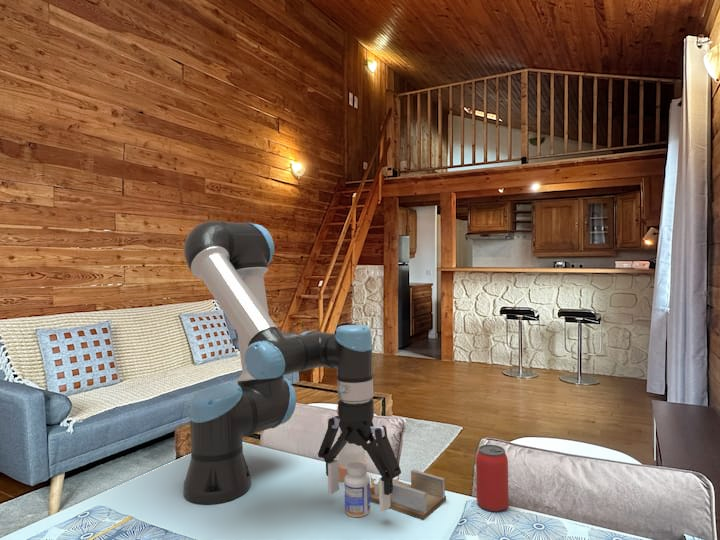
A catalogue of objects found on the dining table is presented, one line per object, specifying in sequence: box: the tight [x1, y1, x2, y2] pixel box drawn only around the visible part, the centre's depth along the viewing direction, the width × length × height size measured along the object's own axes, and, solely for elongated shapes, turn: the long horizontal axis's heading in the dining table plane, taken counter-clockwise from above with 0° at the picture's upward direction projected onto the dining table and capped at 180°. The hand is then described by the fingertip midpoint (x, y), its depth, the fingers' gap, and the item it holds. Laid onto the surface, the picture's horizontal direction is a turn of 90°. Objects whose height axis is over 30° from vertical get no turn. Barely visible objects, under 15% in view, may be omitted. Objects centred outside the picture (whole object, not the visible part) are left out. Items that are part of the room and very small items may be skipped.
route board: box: [370, 480, 447, 521], centre depth 106 cm, size 16×10×1 cm, turn 53°
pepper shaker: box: [336, 406, 368, 483], centre depth 117 cm, size 7×7×19 cm
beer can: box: [475, 444, 510, 512], centre depth 102 cm, size 7×7×12 cm
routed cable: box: [370, 475, 400, 495], centre depth 108 cm, size 8×7×2 cm
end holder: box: [391, 469, 446, 514], centre depth 103 cm, size 8×9×4 cm
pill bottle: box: [343, 462, 371, 518], centre depth 101 cm, size 5×5×10 cm
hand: (358, 500), depth 100 cm, fingers open, 13 cm apart
